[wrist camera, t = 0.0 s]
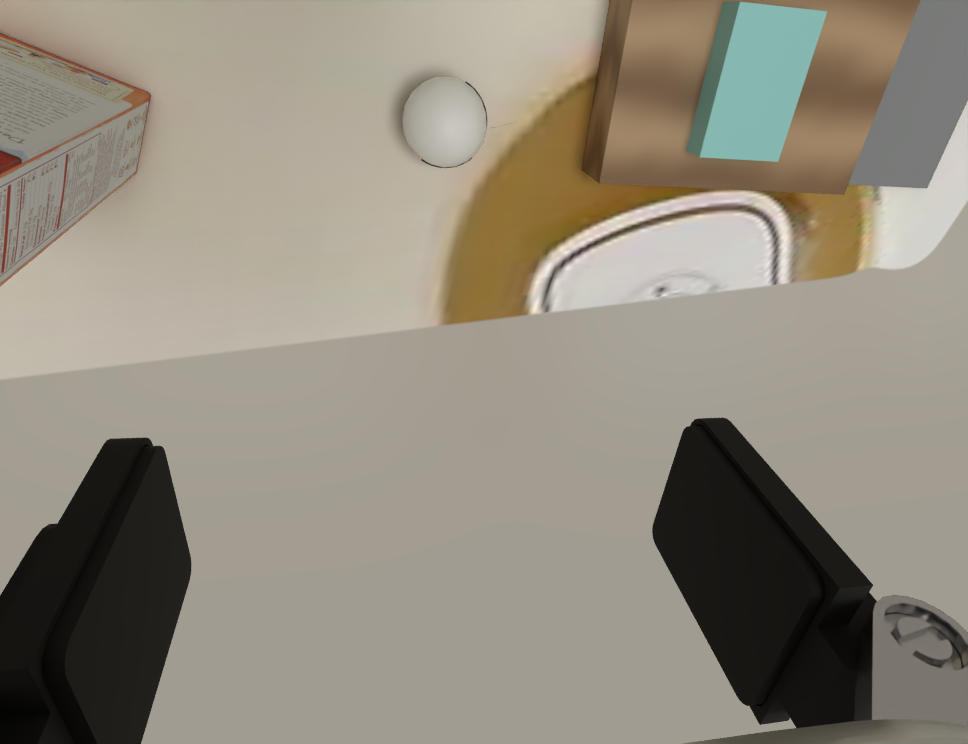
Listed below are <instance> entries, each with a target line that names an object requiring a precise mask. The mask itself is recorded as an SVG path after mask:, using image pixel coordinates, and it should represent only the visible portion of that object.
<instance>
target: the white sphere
mask: <svg viewBox="0 0 968 744" xmlns="http://www.w3.org/2000/svg"><path fill="white" fill-rule="evenodd" d="M402 120H403V131H404V135H405V137H406V140H407V142H408V144H409V146H410V147H411V149H412V150H413V151H414V152H415V153H416V155H417V156H418V157H420V158H421V159H422V161H423V162H425V163H427V164H429V165H432V166H435V167H440V168H451V167H456V166H459V165H462V164H464V163H466V162H468V161H469V160H470V159H472V157H473V156H474V155H475V154H476V153H477V151H478V150H479V148H480V147H481V145H482V143H483V141H484V137H485V133H486V130H487V113H486V109H485V105H484V103H483V100H482V98H481V97H480V95H479V94H478V92H477V91H476V90H475V89H474V88H473V87H472V86H471V85H470V84H469V83H467V82H464V81H462V80H460V79H456V78H453V77H450V76H444V77H434V78H432V79H429V80H427V81H425V82H422V83H421V84H420V85H419V86H418V87H417V88H416V89H415V90H414V91H413V92H412V93H411V95H410V97H409V98H408V100H407V102H406V104H405V108H404V113H403V118H402ZM516 123H517V122H516ZM512 124H513V123H512ZM507 125H508V124H507ZM502 126H503V125H502ZM499 127H500V126H499ZM493 128H495V127H493Z"/></svg>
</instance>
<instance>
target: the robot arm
mask: <svg viewBox="0 0 968 744" xmlns="http://www.w3.org/2000/svg"><path fill="white" fill-rule="evenodd" d="M652 532H653V539H654V542H655V544H656V546H657V548H658V550H659V552H660V554H661V556H662V558H663V559H664V561H665V563H666V565H667V567H668V569H669V571H670V573H671V574H672V576H673V578H674V580H675V582H676V584H677V585H678V587H679V589H680V591H681V593H682V594H683V597H684V599H685V600H686V602H687V604H688V606H689V608H690V610H691V612H692V613H693V615H694V617H695V619H696V621H697V622H698V625H699V626H700V628H701V630H702V632H703V634H704V636H705V638H706V639H707V641H708V643H709V645H710V647H711V649H712V651H713V652H714V654H715V656H716V658H717V660H718V662H719V664H720V666H721V667H722V669H723V671H724V673H725V675H726V677H727V678H728V680H729V682H730V684H731V686H732V688H733V690H734V692H735V693H736V695H737V697H738V698H739V700H740V701H741V702H742V703H743V704H745V705H747V706H750V708H751V710H752V711H753V713H754V715H755V717H756V719H757V721H758V722H759V724H760V725H761V724H768V723H775V722H782V721H788V720H789V718H791V720H792V721H793V723H794V725H795V726H796V728H794V729H786V730H778V731H769V732H762V733H755V734H748V735H741V736H735V737H727V738H720V739H713V740H705V741H699V742H692V743H684V744H968V632H967V631H966V630H965V629H964V628H963V627H962V626H960V625H959V623H957V622H956V621H955V620H954V619H952V618H951V617H950V616H948V615H947V614H945V613H944V612H942V611H941V610H940V609H938V608H935V607H934V606H932V605H930V604H928V603H926V602H923V601H921V600H917V599H914V598H911V597H908V596H899V595H891V596H886V597H882V598H881V599H880V600H879V601H876V600H875V599H874V598H873V596H872V595H871V594H870V593H869V591H870V589H871V588H872V586H873V584H872V583H871V582H870V581H869V580H868V579H867V577H866V576H865V575H864V574H863V573H862V572H861V571H860V569H859V568H858V567H857V566H856V565H855V564H854V563H853V562H852V561H851V559H850V558H849V557H848V556H847V555H846V553H845V552H844V551H843V550H842V549H841V548H840V547H839V545H838V544H837V543H836V542H835V541H834V540H833V539H832V538H831V536H830V535H829V534H828V533H827V532H826V531H825V529H824V528H823V527H822V526H821V525H820V524H819V523H818V521H817V520H816V519H815V518H814V517H813V516H812V514H811V513H810V512H809V511H808V510H807V509H806V508H805V506H804V505H803V504H802V503H801V502H800V501H799V500H798V498H797V497H796V496H795V495H794V494H793V493H792V492H791V490H790V489H789V488H788V487H787V486H786V485H785V483H784V482H783V481H782V480H781V479H780V478H779V477H778V475H777V474H776V473H775V472H774V471H773V470H772V469H771V467H770V466H769V465H768V464H767V463H766V462H765V461H764V459H763V458H762V457H761V456H760V455H759V454H758V453H757V451H756V450H755V449H754V448H753V447H752V446H751V445H750V443H749V442H748V441H747V440H746V439H745V438H744V437H743V435H742V434H741V433H740V432H739V431H738V430H737V428H736V427H735V426H734V425H733V424H732V423H731V422H730V421H729V420H728V419H725V418H704V419H703V418H702V419H695V420H694V421H693V422H692V423H691V426H689V427H686V428H685V429H684V431H683V433H682V436H681V439H680V442H679V446H678V448H677V452H676V455H675V458H674V461H673V464H672V467H671V470H670V473H669V477H668V480H667V483H666V486H665V489H664V492H663V495H662V498H661V501H660V505H659V508H658V511H657V514H656V517H655V520H654V523H653V531H652ZM190 575H191V557H190V553H189V548H188V544H187V540H186V536H185V532H184V528H183V524H182V520H181V516H180V511H179V507H178V503H177V499H176V495H175V491H174V487H173V483H172V479H171V474H170V470H169V466H168V462H167V458H166V454H165V451H164V448H163V447H162V446H153V444H152V442H151V440H150V439H149V438H122V439H109V440H107V441H106V442H105V444H104V445H103V447H102V449H101V450H100V452H99V454H98V455H97V457H96V459H95V460H94V462H93V464H92V466H91V467H90V469H89V471H88V472H87V474H86V476H85V478H84V479H83V481H82V483H81V484H80V486H79V488H78V489H77V491H76V493H75V495H74V497H73V498H72V500H71V502H70V503H69V505H68V507H67V509H66V510H65V512H64V514H63V515H62V517H61V519H60V520H59V522H58V524H49V525H47V526H46V527H44V528H43V529H42V530H41V531H40V533H39V534H38V535H37V536H36V538H35V539H34V541H33V543H32V545H31V546H30V548H29V549H28V551H27V553H26V554H25V556H24V558H23V559H22V561H21V562H20V564H19V566H18V568H17V569H16V571H15V572H14V574H13V576H12V577H11V579H10V581H9V582H8V584H7V585H6V587H5V589H4V590H3V592H2V594H1V595H0V744H141V741H142V738H143V734H144V731H145V728H146V725H147V721H148V718H149V715H150V711H151V708H152V704H153V701H154V698H155V694H156V691H157V688H158V684H159V681H160V677H161V674H162V671H163V668H164V664H165V661H166V657H167V654H168V650H169V647H170V644H171V640H172V637H173V634H174V630H175V627H176V624H177V620H178V617H179V614H180V611H181V607H182V604H183V601H184V597H185V594H186V590H187V587H188V584H189V580H190Z"/></svg>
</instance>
